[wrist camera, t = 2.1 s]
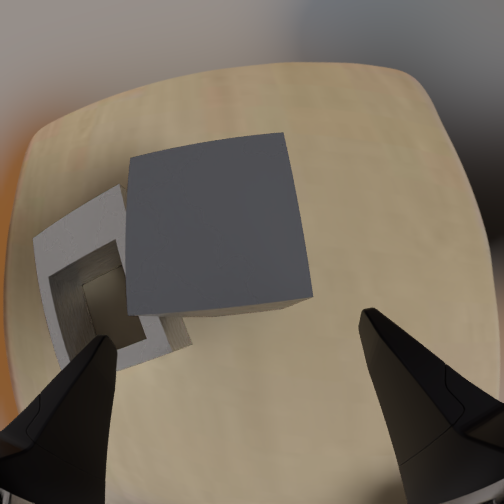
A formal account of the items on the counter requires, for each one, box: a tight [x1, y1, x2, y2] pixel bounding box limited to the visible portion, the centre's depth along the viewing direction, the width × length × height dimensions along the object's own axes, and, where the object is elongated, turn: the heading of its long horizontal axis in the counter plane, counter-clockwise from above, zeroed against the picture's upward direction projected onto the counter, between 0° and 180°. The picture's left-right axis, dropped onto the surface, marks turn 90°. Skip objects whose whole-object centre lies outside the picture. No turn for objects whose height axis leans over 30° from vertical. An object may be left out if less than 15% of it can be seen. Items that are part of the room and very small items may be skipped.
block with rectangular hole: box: [33, 184, 192, 371], centre depth 18 cm, size 12×9×4 cm
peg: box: [125, 132, 313, 317], centre depth 14 cm, size 5×5×12 cm
